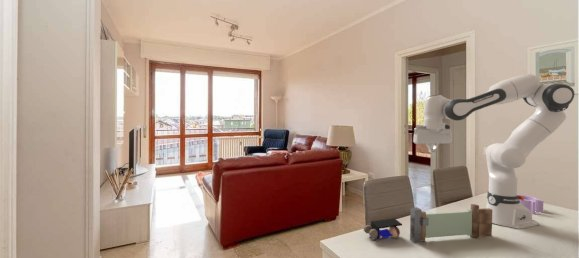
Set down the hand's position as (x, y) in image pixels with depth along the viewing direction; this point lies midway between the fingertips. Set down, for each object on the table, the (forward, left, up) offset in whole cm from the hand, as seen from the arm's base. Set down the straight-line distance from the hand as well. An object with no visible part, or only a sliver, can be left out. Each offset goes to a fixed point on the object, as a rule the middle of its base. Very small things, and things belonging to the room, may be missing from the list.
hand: (432, 152), depth 138 cm
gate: (+12, +25, -34) cm, 44 cm away
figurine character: (+38, +20, -34) cm, 55 cm away
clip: (-59, -4, -34) cm, 68 cm away
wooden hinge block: (-5, +25, -34) cm, 43 cm away
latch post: (+25, +26, -34) cm, 49 cm away
